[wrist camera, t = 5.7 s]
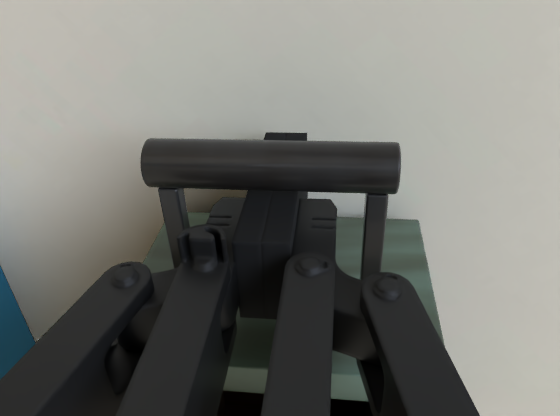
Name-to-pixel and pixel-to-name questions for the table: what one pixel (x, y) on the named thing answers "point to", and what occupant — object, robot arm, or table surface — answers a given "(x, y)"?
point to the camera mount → (11, 329)
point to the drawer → (349, 235)
